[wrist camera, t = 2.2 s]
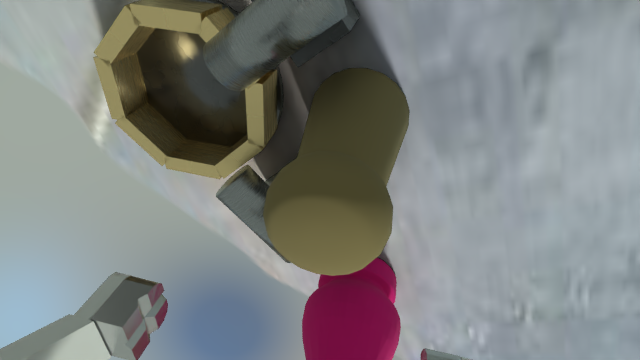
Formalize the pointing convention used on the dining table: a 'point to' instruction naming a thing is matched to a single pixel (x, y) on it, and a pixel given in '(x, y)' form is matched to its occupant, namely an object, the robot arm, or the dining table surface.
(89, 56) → the dining table surface
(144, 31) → the coupling collar
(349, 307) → the pepper mill
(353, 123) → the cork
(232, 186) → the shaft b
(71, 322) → the robot arm
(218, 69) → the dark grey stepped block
